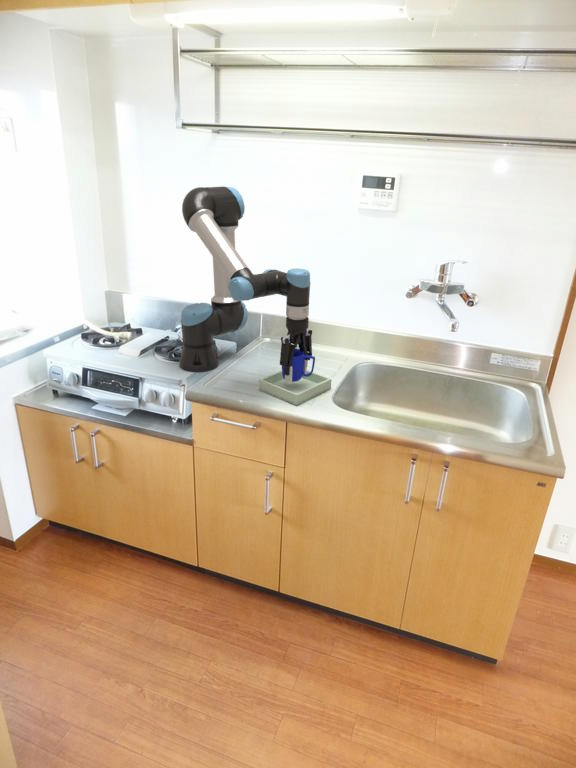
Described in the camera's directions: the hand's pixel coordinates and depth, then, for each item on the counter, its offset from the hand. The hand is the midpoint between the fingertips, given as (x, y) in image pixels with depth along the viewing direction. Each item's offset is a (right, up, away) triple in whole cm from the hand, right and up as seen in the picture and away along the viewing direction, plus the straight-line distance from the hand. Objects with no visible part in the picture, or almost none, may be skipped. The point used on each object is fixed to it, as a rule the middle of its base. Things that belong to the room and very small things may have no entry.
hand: (295, 379), depth 177 cm
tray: (0, -3, +2) cm, 4 cm away
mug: (+1, 0, +1) cm, 1 cm away
